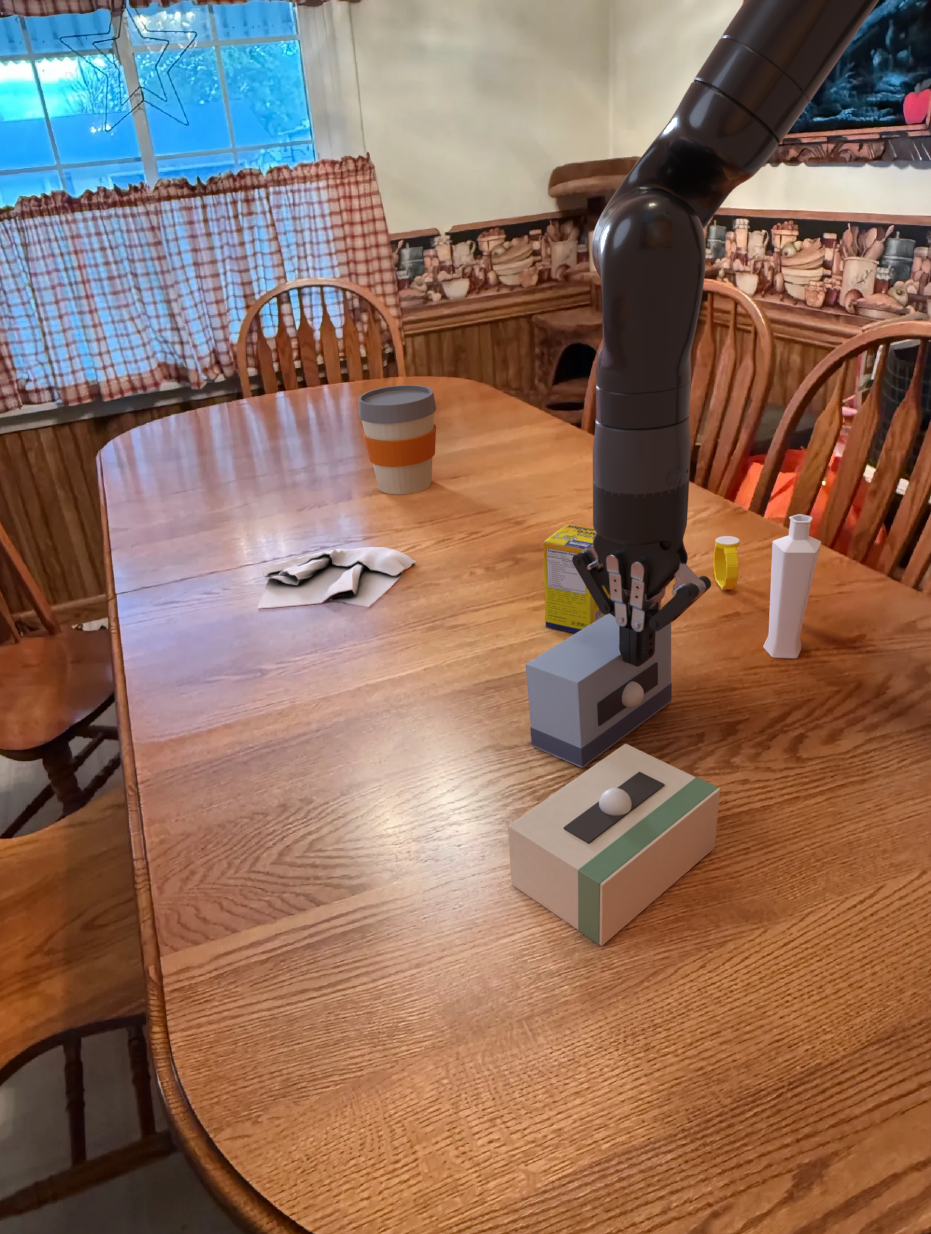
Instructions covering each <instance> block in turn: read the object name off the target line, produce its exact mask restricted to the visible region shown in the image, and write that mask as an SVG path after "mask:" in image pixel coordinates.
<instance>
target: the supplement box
mask: <svg viewBox="0 0 931 1234" xmlns="http://www.w3.org/2000/svg"><path fill="white" fill-rule="evenodd" d="M595 535H596V531H595V530H594V527H593V526H586V525H580V524H574V523H568V522H567V523H566V524H564V525H563V526H562V527H561V528H559V529H558V530H557V531H555V532H554V533H552V534H551V535H550V536H548V537H547V538H546V539H545V540H544V541H543V543H542V545H543V546H542V547H543V549H542V550H543V552H542V553H543V583H544V584H543V587H544V589H543V590H544V612H545V613H544V617H545V627H546V628H550V629H554V630H559V631H563V632H568V633H573V634H576V633H577V632H579V631H581V630H582V629H584V628H585V627H587V626H589V625H590V624H592V623H594V622H595V621H597V620H598V619H600V618H602V617H603V616H605V614H603V613H602V612H601V611H600V610H599V608H598V606H597V604H596V603H595V601H594V599H593V597H592V596H591V594H590V592H589V590H588V589H587V587H586V585H585V584H584V582H583V580H582V578H581V577H580V575H579V573H578V571H577V570H576V568H575V566H574V564H573V562H572V558H573V556H574V555H576V554H578V553H579V552H581V551H583V550H585V549H587V548H589V547H591V546H593V539H594V537H595ZM602 587H603V589H604V591H605V593H606V594H607V596H608V598H609V597H610V595H609V594H608V592H607V590H606V588H605V587H604V586H603V585H602Z"/></svg>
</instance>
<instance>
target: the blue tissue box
mask: <svg viewBox="0 0 931 1234" xmlns="http://www.w3.org/2000/svg"><path fill="white" fill-rule="evenodd" d="M525 674H526V675H525V676H526V686H527V687H526V688H527V696H528V706H529V707H528V708H529V709H528V710H529V720H530V727H529V730H530V731H529V732H530V741H531V742H530V743H531V745H532V747H533V748H536V749H538V750H540V751H542V752H545V753H548V754H549V755H551V756H554V757H556V758H558V759H561V760H563V761H565V762H567V763H570V764H572V765H574V766H577V767H579V768H581V769H584V768H585V767H586V766H587V765H589V763H591V762H592V761H594V760H595V759H597V758H598V757H599V756H601V755H602V754H603V753H604V752H606V751H607V750H609V749H610V748H611V747H613V746H614V745H615V744H617V743H618V742H619V741H621V740H622V739H623V738H625V737H626V736H628V735H629V734H631V733H632V732H633V731H634V730H635V729H637V728H638V727H640V726H641V725H642V724H644V723H645V722H646V721H648V720H649V719H650V718H651V717H653V716H654V715H656V714H657V713H658V712H659V711H661V710H662V709H663V708H665V707H666V706H668V705H669V704H670V703H671V701H672V698H673V697H672V695H673V694H672V693H673V692H672V691H673V690H672V689H673V685H672V622H671V623H670V624H668V625H667V626H665V627H664V628H662V629H661V630H659V631H656V635H655V653H654V655H653V657H651V658H650V659H649V660H648V661H646V662H645V663H643V664H642V665H640V666H639V667H637V666H634V665H631V664H629V663H626V662H624V661H623V655H621V653H620V650H619V625H618V624H617V622H616V619H615V617H614V616H613V615H611V614H610V613H609V614H607V615H605V616H603V617H602V618H600V619H598V620H597V621H595V622H594V623H592V624H590V625H589V626H587V627H585V628H584V629H582V630H581V631H579V632H577V633H573V634H572V635H570V636H569V637H567V638H566V639H564V640H562V641H561V642H559V643H557V644H556V645H554V646H553V647H551V648H549V649H548V650H546V651H545V652H543V653H541V654H540V655H538V656H537V657H535V658H533V659H532V660H531V659H530V661H528V662H526V663H525Z"/></svg>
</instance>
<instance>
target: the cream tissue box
mask: <svg viewBox="0 0 931 1234" xmlns="http://www.w3.org/2000/svg"><path fill="white" fill-rule="evenodd" d="M720 796H721V788H720V787H718V786H717V785H714V784H712V783H710V782H709V781H706V780H704V779H702V778H700V777H698V776H694V775H692V774H690V773H688V772H686V771H684V770H681V769H679V768H677V767H675V766H674V765H671V764H669V763H667V762H666V761H663V760H661V759H659V758H656V757H654V756H653V755H650V754H648V753H646V752H644V751H642V750H640V749H638V748H636V747H633V746H632V745H629V744H627V743H623V744H622V745H621V746H620V747H618V748H617V749H615V750H614V751H612V752H611V753H610V754H609V755H607V756H605V757H604V758H603V759H601V760H599V761H598V762H597V763H595V764H594V765H593V766H591V767H590V768H589V769H587V770H586V771H584V772H582V773H581V774H580V775H578V776H577V777H576V778H574V779H572V780H571V781H570V782H568V783H567V784H565V785H564V786H563V787H561V788H560V789H559V790H556V791H555V792H554V793H553V794H551V795H549V796H548V797H547V798H545V799H544V800H543V801H541V802H539V804H536V805H535V806H534V807H533V808H531V809H530V810H528V811H527V812H526V813H524V814H522V815H521V816H520V817H518V818H517V819H516V820H514V821H512V822H511V823H510V824H508V825H507V835H508V850H509V851H508V852H509V853H508V854H509V868H510V870H509V871H510V883H511V885H512V886H513V887H515V888H516V889H517V890H519V891H521V892H522V893H523V894H525V895H526V896H528V897H529V898H531V900H534V901H535V902H537V903H538V904H539V905H541V906H543V907H544V908H545V909H546V910H548V911H550V912H551V913H553V914H554V915H556V916H557V917H558V918H560V919H561V920H563V921H564V922H566V923H567V924H569V925H570V926H571V927H573V928H574V929H576V930H577V931H578V932H579V933H580V934H582V935H584V936H585V937H586V938H588V939H589V940H591V941H592V942H593V943H595V944H596V945H598V946H601V947H603V946H604V945H605V944H606V943H607V942H609V941H610V940H611V939H612V938H613V937H614V936H615V935H616V934H618V933H619V932H620V931H621V930H622V929H623V928H625V926H627V925H628V924H630V923H631V921H633V920H634V919H635V918H636V917H637V916H639V914H641V913H642V912H643V911H644V910H645V909H646V908H647V907H649V906H650V905H652V903H653V902H654V901H656V900H657V899H658V898H659V897H660V896H661V895H662V894H664V893H665V892H666V891H667V890H668V889H669V888H670V887H672V886H673V885H674V884H675V883H676V882H677V881H679V880H680V879H681V878H682V877H683V876H684V875H685V874H687V873H688V872H689V871H690V870H691V869H692V868H694V867H695V866H696V865H697V864H698V863H699V862H700V861H701V860H702V859H704V858H705V857H706V856H707V855H708V854H709V853H710V852H712V851H713V850H714V849H715V848H716V840H717V839H716V838H717V828H718V827H717V826H718V819H719V817H718V816H719V807H720V798H721V797H720Z"/></svg>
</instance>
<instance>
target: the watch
mask: <svg viewBox="0 0 931 1234" xmlns="http://www.w3.org/2000/svg"><path fill="white" fill-rule="evenodd" d="M740 543H741V540H740V538H738V537H736V536H731V535H722V536H721V535H720V536H718V537H716V538H715V540H714V545H715V546H714V550H713V558H712V560H713V561H712V563H713V564H712V565H713V576H714V581H715V582H716V584H717V585H718V586H719V587H720V590H721V591H727V590H729V591H730V590H734V589H735V587H736V586H737V582H738V578H739V567H740V565H739V564H740V563H739V554H738V550H737V548H739V547H740Z"/></svg>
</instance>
